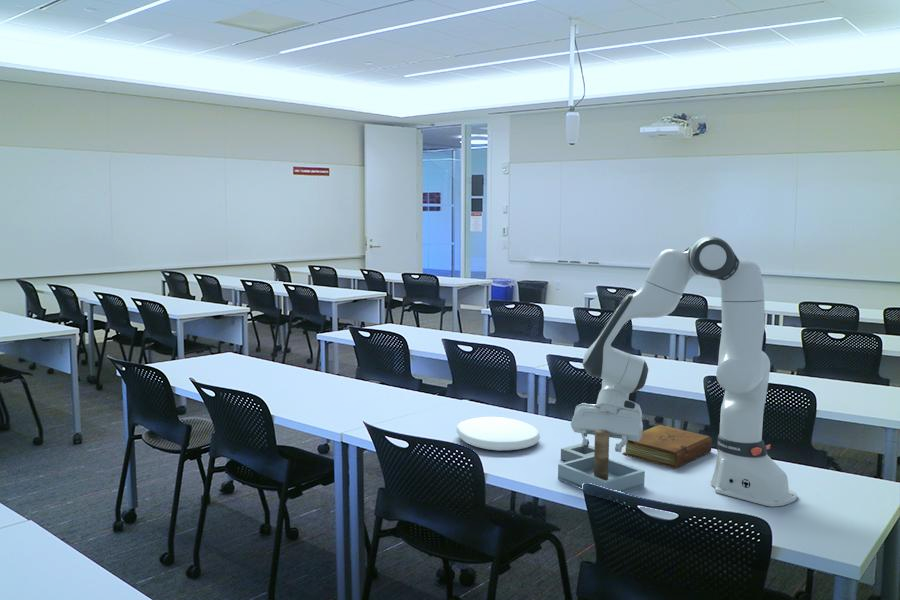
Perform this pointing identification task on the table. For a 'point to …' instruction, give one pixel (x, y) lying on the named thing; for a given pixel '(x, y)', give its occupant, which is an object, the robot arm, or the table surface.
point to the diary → (669, 446)
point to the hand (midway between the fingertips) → (601, 448)
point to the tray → (583, 472)
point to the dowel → (601, 454)
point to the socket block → (576, 452)
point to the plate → (497, 433)
